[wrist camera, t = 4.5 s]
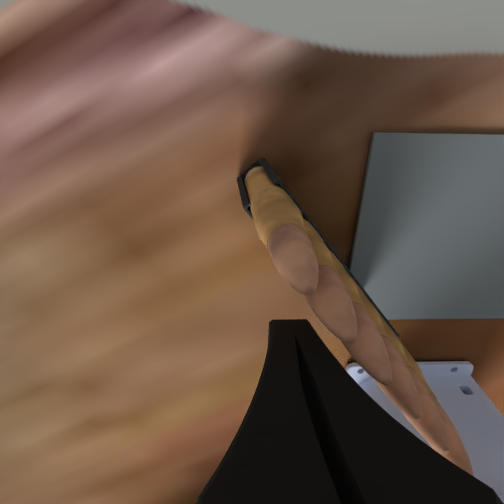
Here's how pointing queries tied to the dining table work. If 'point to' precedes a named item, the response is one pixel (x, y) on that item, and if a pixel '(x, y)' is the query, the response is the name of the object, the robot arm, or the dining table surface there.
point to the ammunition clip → (344, 306)
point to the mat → (432, 226)
